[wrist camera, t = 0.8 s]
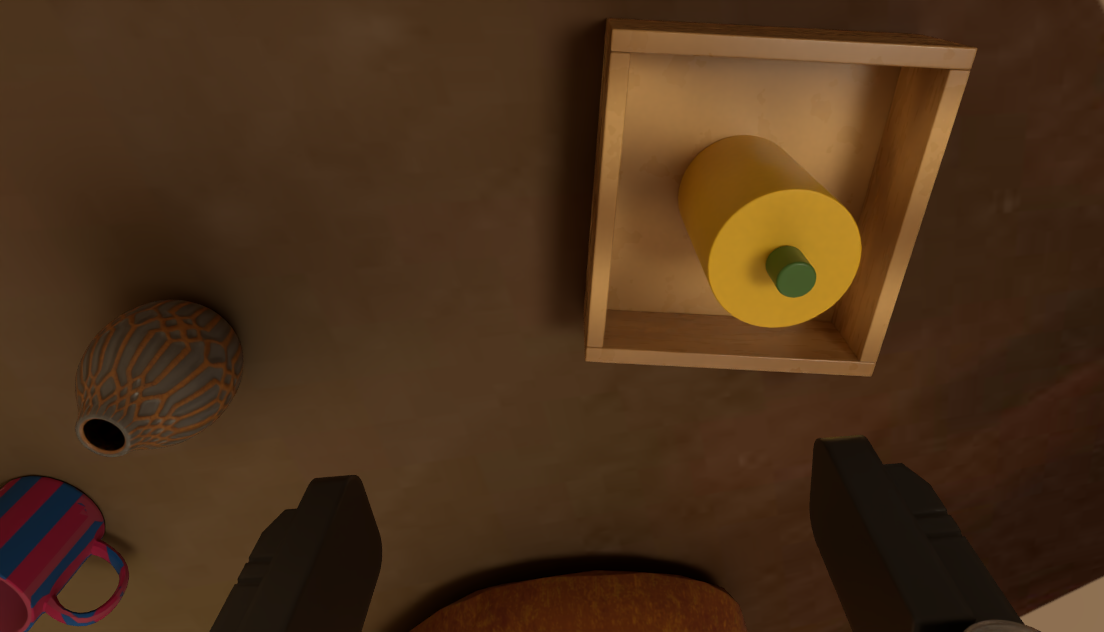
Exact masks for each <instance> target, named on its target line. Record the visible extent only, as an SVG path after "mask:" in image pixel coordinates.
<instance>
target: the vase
mask: <svg viewBox="0 0 1104 632" xmlns="http://www.w3.org/2000/svg"><path fill="white" fill-rule="evenodd" d="M242 372H243V351H242V347H241V344H240V341H239V339H238V337H237V335H236V333H235V332H234V330H233V329H232V327H231V326H230V325H229V324H228V322H227V321H226V320H225V319H223V318H222V317H221V316H220V315H219V314H217V313H216V312H214V311H213V310H211V309H209V308H207V307H205V306H202V305H200V304H197V303H193V302H189V301H184V300H161V301H155V302H151V303H147V304H143V305H140V306H138V307H135V308H133V309H131V310H129V311H127V312H125V313H123V314H122V315H120V316H118V317H117V318H116V319H114V320H113V321H111V322H110V323H109V324H108V325H106V326H105V327H104V328H103V329H102V330H101V331H100V332H99V333H98V334H97V335H96V336H95V337H94V339H93V340H92V341H91V343H90V344H89V346H88V347H87V349H86V351H85V352H84V354H83V356H82V358H81V361H80V363H79V366H78V369H77V373H76V379H75V392H76V400H77V406H78V411H79V415H78V419H77V422H76V426H75V430H76V435H77V437H78V439H79V440H80V442H81V443H82V444H83V445H84V446H85V447H86V448H87V449H89V450H90V451H92V452H94V453H96V454H99V455H102V456H106V457H117V456H121V455H124V454H126V453H129V452H131V451H134V450H145V449H156V448H163V447H168V446H172V445H176V444H178V443H181V442H183V441H186V440H188V439H190V438H192V437H194V436H195V435H197V434H199V433H200V432H202V431H203V430H205V429H206V428H207V427H209V426H210V425H211V424H212V423H213V422H215V421H216V420H217V419H218V418H219V417H220V416H221V414H222V413H223V412H224V411H225V410H226V408H227V407H228V405H229V404H230V402H231V401H232V399H233V397H234V396H235V394H236V392H237V390H238V387H239V384H240V381H241V377H242Z"/></svg>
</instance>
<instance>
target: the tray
mask: <svg viewBox="0 0 1104 632" xmlns="http://www.w3.org/2000/svg"><path fill="white" fill-rule="evenodd" d="M976 52H977V48H976V47H972V46H967V45H963V44H959V43H955V42H950V41H946V40H942V39H938V38H933V37H929V36H925V35H920V34H906V33H887V32H868V31H849V30H830V29H811V28H791V27H772V26H753V25H734V24H715V23H696V22H677V21H657V20H638V19H619V18H607V20H606V30H605V43H604V56H603V68H602V81H601V94H600V107H599V120H598V133H597V146H596V159H595V172H594V185H593V198H592V211H591V224H590V237H589V250H588V263H587V276H586V288H585V301H584V343H585V361H587V362H606V363H625V364H644V365H663V366H682V367H701V368H720V369H739V370H758V371H777V372H796V373H815V374H834V375H853V376H872V373H873V370H874V367H875V364H876V363H875V362H876V361H877V358H878V355H879V352H880V349H881V346H882V343H883V339H884V336H885V333H886V330H887V327H888V324H889V321H890V318H891V315H892V312H893V309H894V305H895V302H896V299H897V296H898V293H899V290H900V287H901V284H902V281H903V278H904V275H905V271H906V268H907V265H908V262H909V259H910V256H911V253H912V250H913V247H914V244H915V241H916V238H917V234H918V231H919V228H920V225H921V222H922V219H923V216H924V213H925V210H926V207H927V204H928V200H929V197H930V194H931V191H932V188H933V185H934V182H935V179H936V176H937V173H938V170H939V166H940V163H941V160H942V157H943V154H944V151H945V148H946V145H947V142H948V139H949V136H950V132H951V129H952V126H953V123H954V120H955V117H956V114H957V111H958V108H959V105H960V102H961V99H962V95H963V92H964V89H965V86H966V83H967V80H968V77H969V74H970V71H969V70H970V69H971V67H972V64H973V61H974V58H975V55H976ZM739 135H752V136H758V137H762V138H765V139H767V140H770V141H772V142H774V143H775V144H777V145H778V146H779V147H781V148H782V149H783V150H784V151H785V152H786V153H787V154H788V155H790V156H791V157H792V158H793V159H794V160H795V161H796V162H797V163H798V164H799V165H800V166H801V167H802V168H804V169H805V170H806V171H807V172H808V173H809V174H810V175H811V176H812V177H813V178H814V179H815V180H816V181H817V182H819V183H820V184H821V185H822V186H823V187H824V188H825V189H826V190H827V191H828V192H829V193H830V194H831V195H833V196H834V197H835V198H836V199H837V200H838V201H839V202H840V203H841V204H842V205H843V206H844V207H845V208H846V209H847V210H848V211H849V212H850V214H851V215H852V217H853V218H854V220H855V222H856V224H857V226H858V229H859V233H860V237H861V246H862V249H861V259H860V263H859V267H858V270H857V273H856V275H855V277H854V279H853V281H852V283H851V285H850V286H849V288H848V289H847V291H846V292H845V293H844V294H843V296H842V297H841V298H840V299H839V300H838V301H837V302H836V303H835V304H834V305H833V306H831V307H830V308H829V309H827V310H826V311H825V312H823V313H821V314H820V315H818V316H816V317H814V318H812V319H810V320H808V321H805V322H803V323H800V324H796V325H792V326H787V327H775V328H769V327H760V326H756V325H751V324H748V323H746V322H743V321H741V320H739V319H737V318H735V317H734V316H732V315H731V314H730V313H728V312H727V311H726V310H725V309H724V308H723V307H722V306H721V305H720V304H719V302H718V301H717V300H716V298H715V296H714V294H713V292H712V290H711V288H710V285H709V283H708V281H707V278H706V276H705V273H704V271H703V268H702V266H701V264H700V261H699V259H698V256H697V254H696V252H695V249H694V247H693V244H692V242H691V239H690V237H689V235H688V232H687V230H686V227H685V225H684V223H683V220H682V217H681V215H680V211H679V206H678V193H679V187H680V183H681V180H682V177H683V175H684V173H685V171H686V169H687V168H688V166H689V165H690V163H691V162H692V161H693V160H694V158H695V157H696V156H697V155H698V154H699V153H700V152H702V151H703V150H704V149H705V148H707V147H708V146H710V145H712V144H713V143H715V142H717V141H720V140H722V139H725V138H728V137H732V136H739Z"/></svg>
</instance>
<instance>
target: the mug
mask: <svg viewBox="0 0 1104 632" xmlns="http://www.w3.org/2000/svg"><path fill="white" fill-rule="evenodd" d="M104 532H105V524H104V519H103V516H102V514H101V512H100V510H99V509H98V507H97V506H96V505H95V504H94V502H93V501H92V500H91V499H90V498H88V497H87V496H86V495H85V494H84V493H82V492H81V491H79V490H78V489H76V488H74V487H73V486H71V485H69V484H67V483H64V482H61V481H59V480H55V479H52V478H47V477H41V476H28V477H20V478H17V479H14V480H12V481H10V482H8V483H7V484H6V485H4V486H3V487H2V488H1V489H0V632H27V631H28V630H29V629H30V628H31V627H32V626H33V624H34V623H35V622H36V621H37V619H38V618H39V617H40V616H41V615H42V614H43V613H45V612H46V613H47V614H48V615H50V616H51V617H52V618H54V619H56V620H58V621H59V622H62V623H65V624H67V625H73V626H87V625H90V624H93V623H96V622H97V621H99V620H101V619H103V618H104V617H105V616H107V615H108V614H109V613H110V612H111V611H112V610H113V609H114V608H115V607H116V606H117V604H118V603H119V601H120V600H121V598H122V596H123V594H124V592H125V590H126V588H127V585H128V580H129V572H128V567H127V564H126V562H125V560H124V558H123V557H122V556H121V555H120V553H118V552H117V551H116V550H115V549H114V548H113V547H111V546H110V545H108V544H107V543H106V542H104V541H102V540H101V539H102V538H103V535H104ZM90 555H96V556H99V557H101V558H103V559H105V560H106V561H108V562H109V563H110V564H112V566H113V567H114V568H115V570H116V571H117V573H118V574H119V579H120V580H119V585H118V587H117V589H116V591H115V593H114V594H113V595H112V597H111V598H110V599H109V600H108V601H107V602H106V603H104V604H103V605H102V606H100V607H99V608H97V609H96V610H93V611H90V612H85V613H77V612H72V611H70V610H67V609H65V608H64V607H63V606H62V605H61V604H60V603H59V601H58V599H57V595H58V594H59V593H60V591H61V590H62V589H63V588H64V586H65V585H66V584H67V583H68V581H69V580H70V579H71V578H72V576H73V575H74V574H75V573H76V572H77V570H78V569H79V568H80V567H81V565H82V564H83V563H84V562H85V561H86V559H87V558H88V557H89V556H90Z"/></svg>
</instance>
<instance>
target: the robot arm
mask: <svg viewBox="0 0 1104 632" xmlns="http://www.w3.org/2000/svg"><path fill="white" fill-rule="evenodd" d="M810 519H811V525H812V530H813V534H814V538H815V541H816V543H817V546H818V548H819V551H820V553H821V556H822V558H823V560H824V563H825V565H826V568H827V570H828V573H829V575H830V577H831V580H832V582H833V585H834V587H835V589H836V592H837V594H838V597H839V599H840V602H841V604H842V606H843V609H844V611H845V614H846V616H847V619H848V621H849V623H850V626H851V628H852V631H853V632H1041V631H1038V630H1036V629H1034V628H1032V627H1029V626H1027V625H1025V624H1024V623H1023V622H1022V620H1021V619H1020V618H1019V616H1018V615H1017V613H1016V612H1015V610H1014V609H1013V607H1012V606H1011V604H1010V603H1009V601H1008V600H1007V598H1006V597H1005V595H1004V594H1003V592H1002V591H1001V590H1000V588H999V587H998V585H997V584H996V582H995V581H994V579H993V578H992V576H991V575H990V573H989V572H988V570H987V569H986V567H985V566H984V564H983V563H982V561H981V560H980V558H979V557H978V555H977V554H976V552H975V551H974V549H973V548H972V546H971V545H970V543H969V542H968V540H967V539H966V537H965V536H962V534H961V530H960V528H959V527H958V526H957V524H956V523H955V521H954V520H953V518H952V517H951V515H948V514H947V509H946V508H945V506H944V505H943V503H942V502H941V500H940V499H939V497H938V496H937V494H936V493H935V491H934V490H933V488H932V487H931V485H930V484H929V483H928V482H926V481H925V480H924V479H922V478H921V477H920V476H918V475H917V474H916V473H914V472H913V471H912V470H910V469H909V468H908V467H906V466H905V465H904V464H902V463H898V464H886V465H883V464H882V462H881V460H880V459H879V457H878V455H877V454H876V452H875V450H874V449H873V447H872V446H871V444H870V442H869V441H868V439H867V438H866V437H865V436H863V435H855V436H843V437H830V438H818V439H816V441H815V443H814V449H813V463H812V477H811V491H810ZM381 562H382V543H381V537H380V533H379V530H378V527H377V524H376V521H375V519H374V516H373V513H372V510H371V507H370V504H369V501H368V498H367V495H366V492H365V489H364V486H363V483H362V481H361V479H360V478H359V477H358V476H357V475H347V476H335V477H322V478H315V479H313V480H312V481H311V482H310V484H309V486H308V488H307V490H306V492H305V494H304V496H303V498H302V500H301V502H300V504H299V506H298V508H297V509H288V510H284V511H283V512H282V513H281V514H280V515H279V516H278V517H277V518H276V519H275V520H274V521H273V522H272V523H271V524H270V525H269V526H268V527H267V528H266V529H265V530H264V531H263V532H262V534H261V536H260V538H259V540H258V542H257V544H256V545H255V547H254V549H253V551H252V553H251V555H250V557H249V563H246V564H245V566H244V568H243V570H242V572H241V574H240V575H239V577H238V583H237V584H235V585H234V587H233V589H232V590H231V592H230V594H229V596H228V598H227V600H226V602H225V604H224V605H223V607H222V609H221V611H220V613H219V615H218V617H217V619H216V620H215V622H214V624H213V626H212V628H211V630H210V632H361V631H362V627H363V624H364V621H365V618H366V615H367V611H368V608H369V605H370V602H371V598H372V595H373V592H374V589H375V586H376V582H377V579H378V576H379V573H380V569H381Z"/></svg>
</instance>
